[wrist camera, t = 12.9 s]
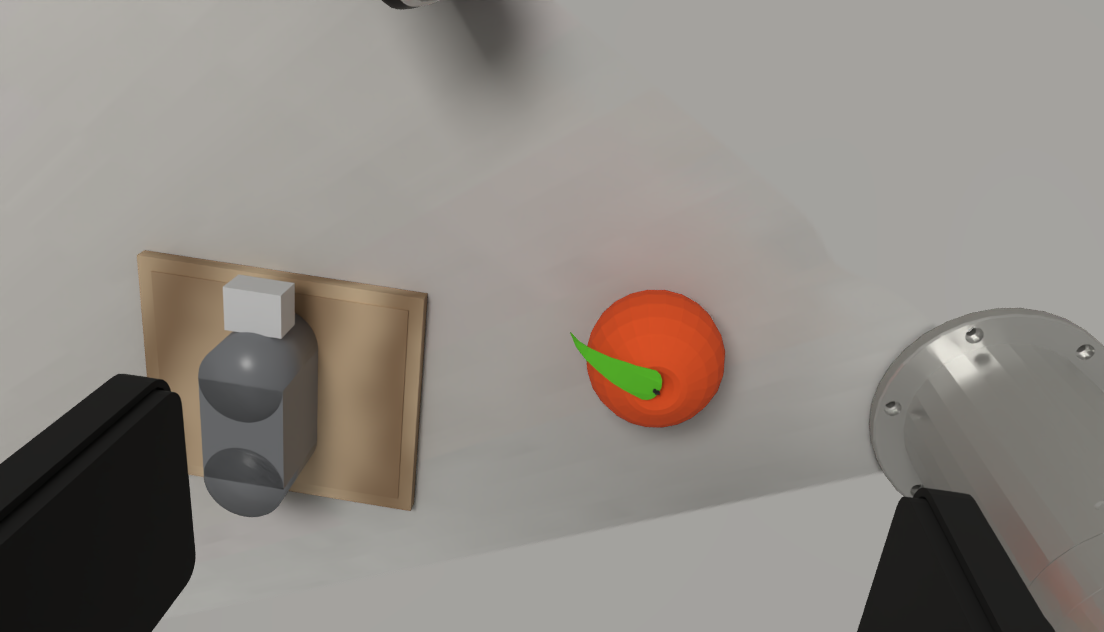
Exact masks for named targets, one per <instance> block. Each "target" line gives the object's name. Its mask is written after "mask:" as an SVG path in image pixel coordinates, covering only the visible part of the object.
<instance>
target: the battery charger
mask: <svg viewBox="0 0 1104 632" xmlns="http://www.w3.org/2000/svg"><path fill="white" fill-rule="evenodd" d="M382 1H383V2H384V3H386V4H387V5H388V6H390V7H391V8H395V9H411V8H416V7H420V6H425V5H430V4H433V3H435V2H438V1H440V0H382Z"/></svg>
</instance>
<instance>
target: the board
mask: <svg viewBox="0 0 1104 632" xmlns="http://www.w3.org/2000/svg"><path fill="white" fill-rule="evenodd" d="M137 263H138V275H139V286H140V298H141V310H142V322H143V334H144V346H145V357H146V369H147V377H149V378H156V379H163V380H164V381H166V382H167V383H168V385H169V387H170V389H171V392H176V393H177V394H179V396H180V398H181V402H182V409H183V420H184V431H185V443H186V454H187V465H188V474H189V475H195V476H201V477H204V472H203V454H202V437H201V419H200V401H199V384H198V372H199V367H200V364H201V362H202V360H203V359H204V357H205V356H206V355H207V354H208V353H209V352H210V351H212V350H213V349H214V348H215V347H216V346H217V345H218V344H219V343H220V342H221V341H223V340H224V339H225V338H226V337H227V336H228V335H229V334H230V333H231V332H232V331H228V330H224V306H223V286H225V285H226V284H227V283H228V282H230V281H231V280H232V279H233V278H235V277H236V276H237V275H245V276H252V277H258V278H265V279H272V280H278V281H285V282H291V283H295V313H296V314H298V315H299V316H301V317H302V318H303V319H304V320H305V321H306V322H307V323H308V324H309V325H310V327H311V328H312V330H313V332H314V334H315V336H316V339H317V343H318V409H317V446H316V449H315V451H314V453H313V455H312V456H311V458H310V459H309V461H308V462H307V464H306V465H305V467H304V468H303V470H302V471H301V473H300V474H299V476H298V477H297V479H296V480H295V482H294V483H293V485H292V486H291V488H290V489H289V491H292V492H298V493H305V494H311V495H317V496H323V497H329V498H335V499H341V500H347V501H353V502H359V503H365V504H371V505H377V506H383V507H390V508H396V509H402V510H408V511H411V509H412V506H413V504H414V493H415V478H416V463H417V447H418V432H419V417H420V402H421V386H422V371H423V356H424V340H425V325H426V310H427V295H428V293H421V292H415V291H408V290H402V289H395V288H389V287H382V286H375V285H369V284H362V283H356V282H349V281H343V280H336V279H329V278H323V277H316V276H310V275H303V274H297V273H290V272H284V271H277V270H270V269H264V268H257V267H251V266H244V265H238V264H231V263H225V262H218V261H211V260H205V259H198V258H192V257H185V256H179V255H172V254H166V253H159V252H152V251H146V250H145V251H143V252H141V253H139V254H138V255H137Z"/></svg>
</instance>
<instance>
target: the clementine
mask: <svg viewBox="0 0 1104 632" xmlns="http://www.w3.org/2000/svg"><path fill="white" fill-rule="evenodd" d="M570 333H571V332H570ZM571 336H572V338H573V341H574V343H575V346H576V347H577V349H578V350H579V351H580V353H581V354H582V355H583V357H584V358H585V359H586V360H587V370H588V374H589V378H590V381H591V384H592V387H593V389H594V391H595V392H596V394H597V395H598V397H599V398H600V400H601V401H602V402H603V403H604V404H605V405H606V406H607V407H608V408H609V409H610V410H611V411H612V412H614V413H615V414H616V415H617V416H619V417H620V418H622V419H624V420H626V421H628V422H630V423H633V424H636V425H640V426H644V427H667V426H672V425H677V424H679V423H682V422H684V421H686V420H688V419H690V418H692V417H693V416H695V415H696V414H697V413H698V412H700V411H701V410H702V409H703V408H704V407H705V406H706V405H707V404H708V403H709V402H710V400H711V399H712V398H713V396H714V395H715V394H716V392H717V391H718V388H719V385H720V383H721V380H722V377H723V372H724V359H725V349H724V345H723V341H722V337H721V334H720V332H719V331H718V329H717V327H716V325H715V324H714V322H713V320H712V319H711V317H710V315H709V314H708V313H707V312H706V311H705V310H704V309H703V308H702V307H701V306H700V305H699V304H698V303H696V302H694V301H693V300H691V299H689V298H687V297H685V296H684V295H682V294H678V293H674V292H670V291H666V290H645V291H641V292H637V293H632V294H629V295H627V296H625V297H623V298H622V299H620V300H618V301H616V302H614V303H613V304H612V305H611V306H610V307H609V308H608V309H607V310H606V311H604V312H603V313H602V315H601V317H600V318H599V320H598V321H597V323H596V325H595V326H594V328H593V330H592V332H591V335H590V338H589V342H588V345H587V346H586V345H584V344H583V343H581V342H580V341H578V340H577V339H576V337H575V336H574V335H573V334H572V333H571Z"/></svg>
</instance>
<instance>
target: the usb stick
mask: <svg viewBox="0 0 1104 632" xmlns="http://www.w3.org/2000/svg"><path fill="white" fill-rule="evenodd" d="M223 306H224V330H228V331H232V332H231V333H230V334H229V335H228V336H227V337H226V338H225V339H224V340H223V341H221V342H220V343H219V344H218V345H217V346H216V347H215V348H214V349H213V350H212V351H210V352H209V353H208V354H207V355H206V356H205V357H204V359H203V360H202V362H201V364H200V367H199V372H198V384H199V401H200V419H201V437H202V454H203V472H204V481H205V485H206V488H207V490H208V492H209V493H210V495H211V496H212V498H213V499H214V500H215V501H216V502H217V503H218V504H219V505H220V506H222V507H223V508H225V509H226V510H228V511H230V512H232V513H234V514H237V515H241V516H246V517H259V516H263V515H266V514H269V513H270V512H272V511H273V510H275V509H276V508H277V507H278V506H279V504H280V503H281V501H282V500H283V498H284V497H285V495H286V494H287V492H288V491H289V489H290V488H291V486H292V485H293V483H294V482H295V480H296V479H297V477H298V476H299V474H300V473H301V471H302V470H303V468H304V467H305V465H306V464H307V462H308V461H309V459H310V458H311V456H312V455H313V453H314V451H315V449H316V446H317V409H318V343H317V339H316V336H315V334H314V332H313V330H312V328H311V327H310V325H309V324H308V323H307V322H306V321H305V320H304V319H303V318H302V317H301V316H299V315H298V314H296V313H295V283H291V282H285V281H278V280H272V279H265V278H258V277H252V276H245V275H237V276H236V277H235V278H233V279H232V280H231V281H230V282H228V283H227V284H226V285H225V286H223Z"/></svg>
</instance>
